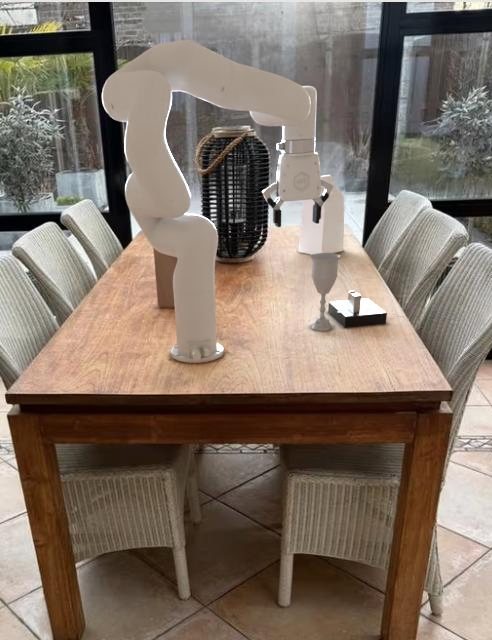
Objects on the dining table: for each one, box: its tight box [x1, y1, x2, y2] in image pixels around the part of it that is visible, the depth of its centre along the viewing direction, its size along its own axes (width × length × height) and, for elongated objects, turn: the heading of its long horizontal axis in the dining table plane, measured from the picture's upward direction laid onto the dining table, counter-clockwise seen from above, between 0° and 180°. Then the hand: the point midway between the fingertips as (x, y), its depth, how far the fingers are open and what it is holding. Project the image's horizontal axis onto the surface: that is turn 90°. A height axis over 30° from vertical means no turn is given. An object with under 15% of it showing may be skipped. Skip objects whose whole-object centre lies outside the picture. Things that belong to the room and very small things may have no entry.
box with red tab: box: [347, 289, 362, 314], centre depth 169 cm, size 5×2×5 cm, turn 8°
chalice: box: [310, 253, 341, 332], centre depth 165 cm, size 7×7×18 cm
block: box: [152, 247, 178, 309], centre depth 190 cm, size 10×10×20 cm
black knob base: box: [327, 297, 388, 329], centre depth 173 cm, size 14×12×3 cm
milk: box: [297, 174, 345, 255], centre depth 239 cm, size 12×12×26 cm
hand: (296, 224), depth 161 cm, fingers open, 9 cm apart
